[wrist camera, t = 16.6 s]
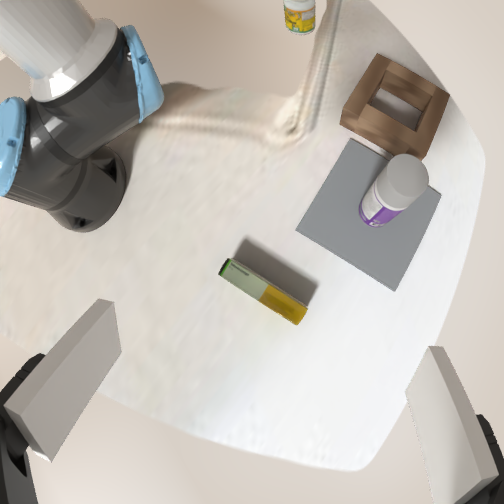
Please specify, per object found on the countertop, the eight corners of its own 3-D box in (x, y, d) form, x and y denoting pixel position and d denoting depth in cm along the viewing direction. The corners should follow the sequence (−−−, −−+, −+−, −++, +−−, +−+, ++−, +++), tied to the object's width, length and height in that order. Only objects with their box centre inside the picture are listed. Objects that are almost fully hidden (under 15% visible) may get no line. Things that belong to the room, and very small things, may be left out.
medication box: (223, 274, 44) (216, 274, 40) (233, 258, 44) (227, 255, 40) (297, 322, 42) (297, 326, 38) (308, 305, 42) (309, 308, 38)
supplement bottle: (320, 30, 47) (322, -7, 37) (296, 39, 47) (293, 1, 38) (304, 15, 48) (303, -21, 38) (280, 23, 48) (275, -13, 39)
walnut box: (339, 124, 44) (343, 107, 39) (371, 71, 45) (376, 53, 40) (414, 168, 42) (425, 155, 37) (439, 110, 42) (450, 94, 37)
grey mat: (295, 230, 43) (295, 229, 43) (349, 139, 44) (350, 138, 43) (394, 291, 41) (394, 291, 40) (440, 196, 41) (441, 195, 41)
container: (395, 206, 42) (436, 169, 27) (380, 234, 41) (419, 208, 27) (367, 188, 42) (396, 143, 28) (352, 216, 42) (377, 181, 27)
